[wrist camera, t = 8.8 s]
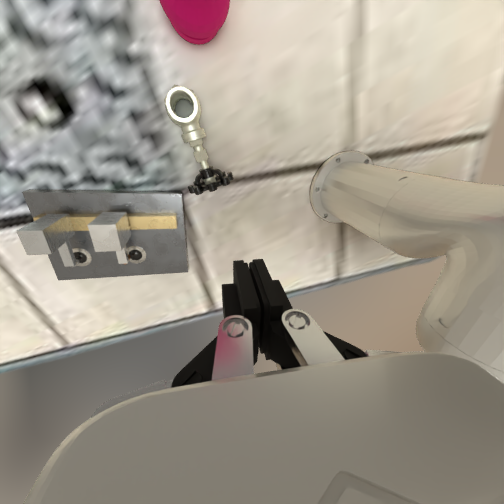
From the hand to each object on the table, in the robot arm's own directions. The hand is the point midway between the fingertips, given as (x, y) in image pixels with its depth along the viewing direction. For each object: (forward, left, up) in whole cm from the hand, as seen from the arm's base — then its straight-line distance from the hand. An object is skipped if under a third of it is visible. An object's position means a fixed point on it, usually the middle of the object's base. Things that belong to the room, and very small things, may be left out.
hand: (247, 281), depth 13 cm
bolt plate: (+15, +8, -26) cm, 31 cm away
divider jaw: (+14, +7, -24) cm, 29 cm away
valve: (+3, -6, -27) cm, 28 cm away
